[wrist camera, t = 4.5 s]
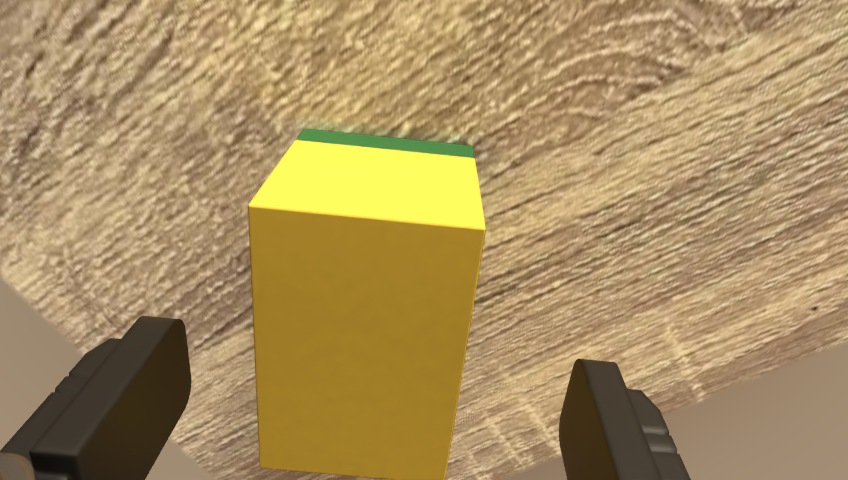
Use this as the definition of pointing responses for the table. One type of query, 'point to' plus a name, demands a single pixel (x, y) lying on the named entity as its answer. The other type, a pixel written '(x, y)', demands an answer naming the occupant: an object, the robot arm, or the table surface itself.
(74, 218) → the table surface
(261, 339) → the sponge
